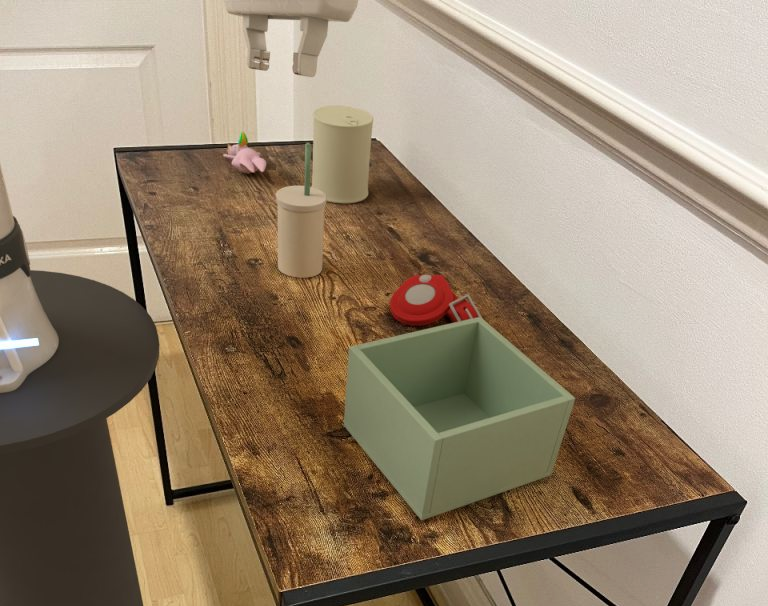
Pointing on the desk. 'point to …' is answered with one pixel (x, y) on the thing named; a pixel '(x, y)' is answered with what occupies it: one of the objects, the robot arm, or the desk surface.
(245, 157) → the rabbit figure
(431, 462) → the bin
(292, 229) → the paper cup
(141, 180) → the desk surface
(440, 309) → the red flat rounded piece
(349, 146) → the can
